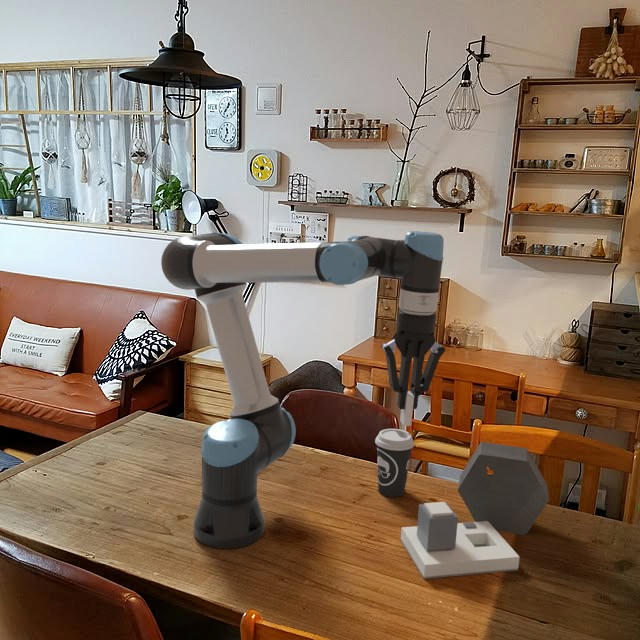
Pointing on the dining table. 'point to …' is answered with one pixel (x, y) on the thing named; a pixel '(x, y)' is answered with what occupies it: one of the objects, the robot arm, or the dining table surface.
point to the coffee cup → (393, 461)
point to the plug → (437, 526)
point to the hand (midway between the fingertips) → (405, 423)
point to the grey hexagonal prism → (503, 488)
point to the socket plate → (463, 552)
